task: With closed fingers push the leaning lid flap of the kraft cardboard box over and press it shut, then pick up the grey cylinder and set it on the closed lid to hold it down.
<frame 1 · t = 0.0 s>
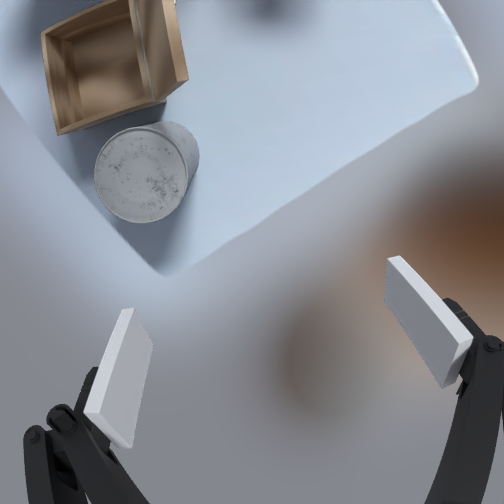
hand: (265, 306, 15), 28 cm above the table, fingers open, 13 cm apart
box: (114, 67, 32), on the table
grey cylinder: (163, 156, 38), on the table
lid: (154, 20, 19), point 14 cm above the table, hinge at 110.0°
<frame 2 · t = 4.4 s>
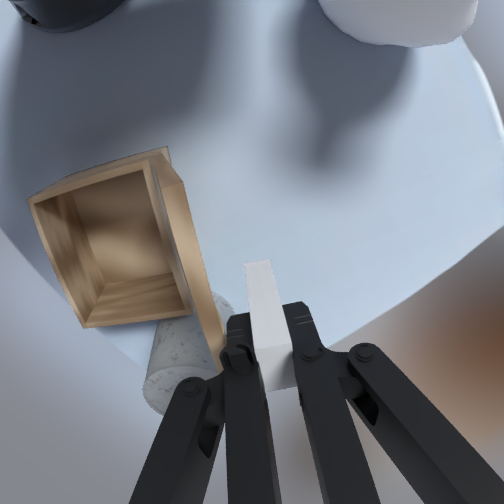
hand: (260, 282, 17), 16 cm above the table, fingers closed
box: (130, 223, 31), on the table
grey cylinder: (197, 319, 38), on the table
lid: (193, 278, 19), point 14 cm above the table, hinge at 104.7°, touching gripper
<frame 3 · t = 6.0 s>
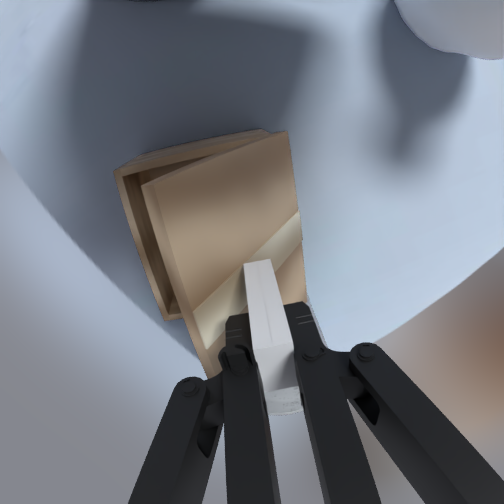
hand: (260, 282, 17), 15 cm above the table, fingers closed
vase: (433, 8, 22), on the table
box: (213, 207, 31), on the table
grey cylinder: (271, 308, 37), on the table
lid: (256, 265, 19), point 13 cm above the table, hinge at 55.2°
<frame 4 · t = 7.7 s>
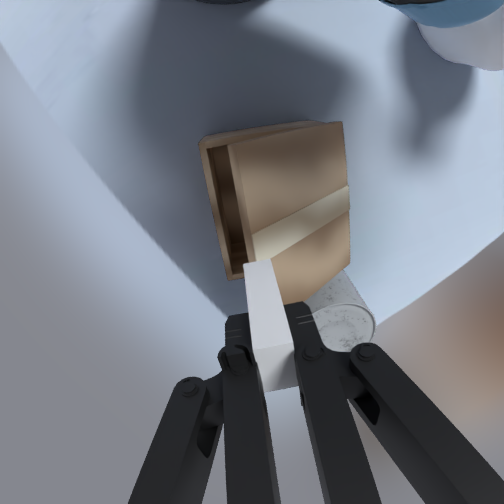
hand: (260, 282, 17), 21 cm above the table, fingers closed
vase: (446, 25, 26), on the table
box: (266, 185, 36), on the table
grey cylinder: (308, 279, 42), on the table
lid: (306, 218, 25), point 12 cm above the table, hinge at 38.5°
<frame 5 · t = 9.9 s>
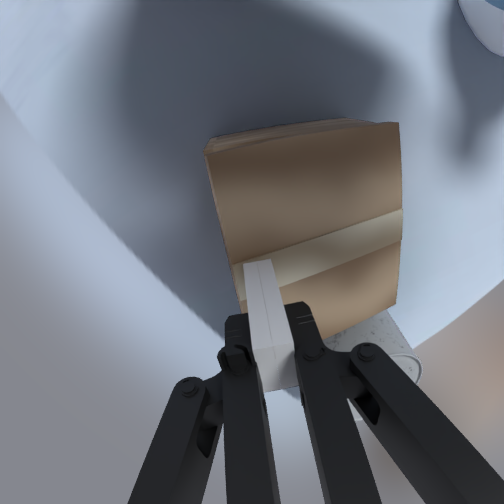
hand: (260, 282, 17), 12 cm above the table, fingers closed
vase: (489, 12, 18), on the table
box: (291, 200, 28), on the table
grey cylinder: (337, 309, 34), on the table
lid: (328, 248, 19), point 10 cm above the table, hinge at 15.2°, touching gripper
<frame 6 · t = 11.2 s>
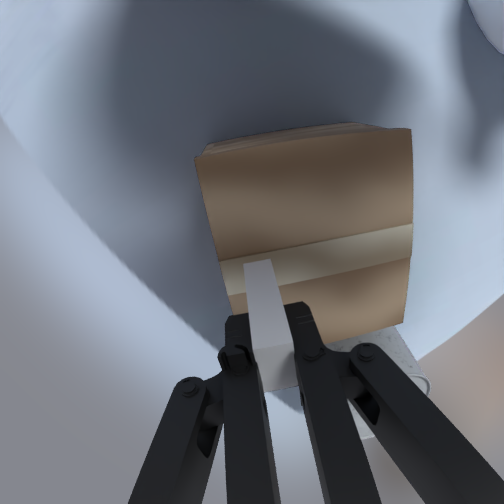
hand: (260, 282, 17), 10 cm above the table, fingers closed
vase: (498, 12, 17), on the table
box: (294, 211, 26), on the table
grey cylinder: (341, 323, 33), on the table
lid: (323, 255, 19), point 8 cm above the table, hinge at 0.0°, touching box
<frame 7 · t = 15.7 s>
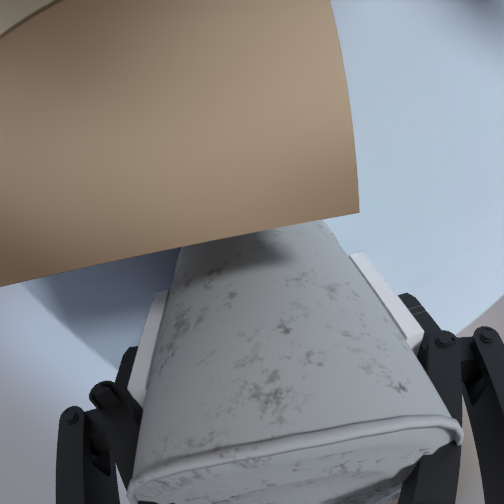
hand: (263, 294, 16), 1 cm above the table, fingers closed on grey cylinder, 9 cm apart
grey cylinder: (260, 280, 17), on the table, touching gripper
when the fingers open (12 cm above the table, at t = 20.1 s): grey cylinder drops 2 cm, resting on lid.
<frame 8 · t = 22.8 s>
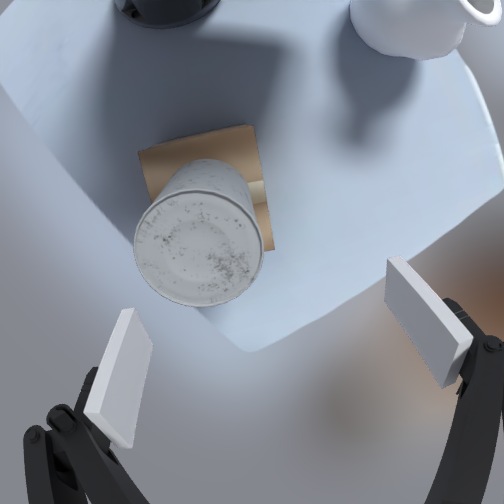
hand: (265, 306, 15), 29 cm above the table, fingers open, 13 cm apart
vase: (386, 20, 31), on the table
grey cylinder: (207, 201, 33), point 9 cm above the table, touching lid
lid: (208, 200, 33), point 8 cm above the table, hinge at 0.0°, touching grey cylinder, box
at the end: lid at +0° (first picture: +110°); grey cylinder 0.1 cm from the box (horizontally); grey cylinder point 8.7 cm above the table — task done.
